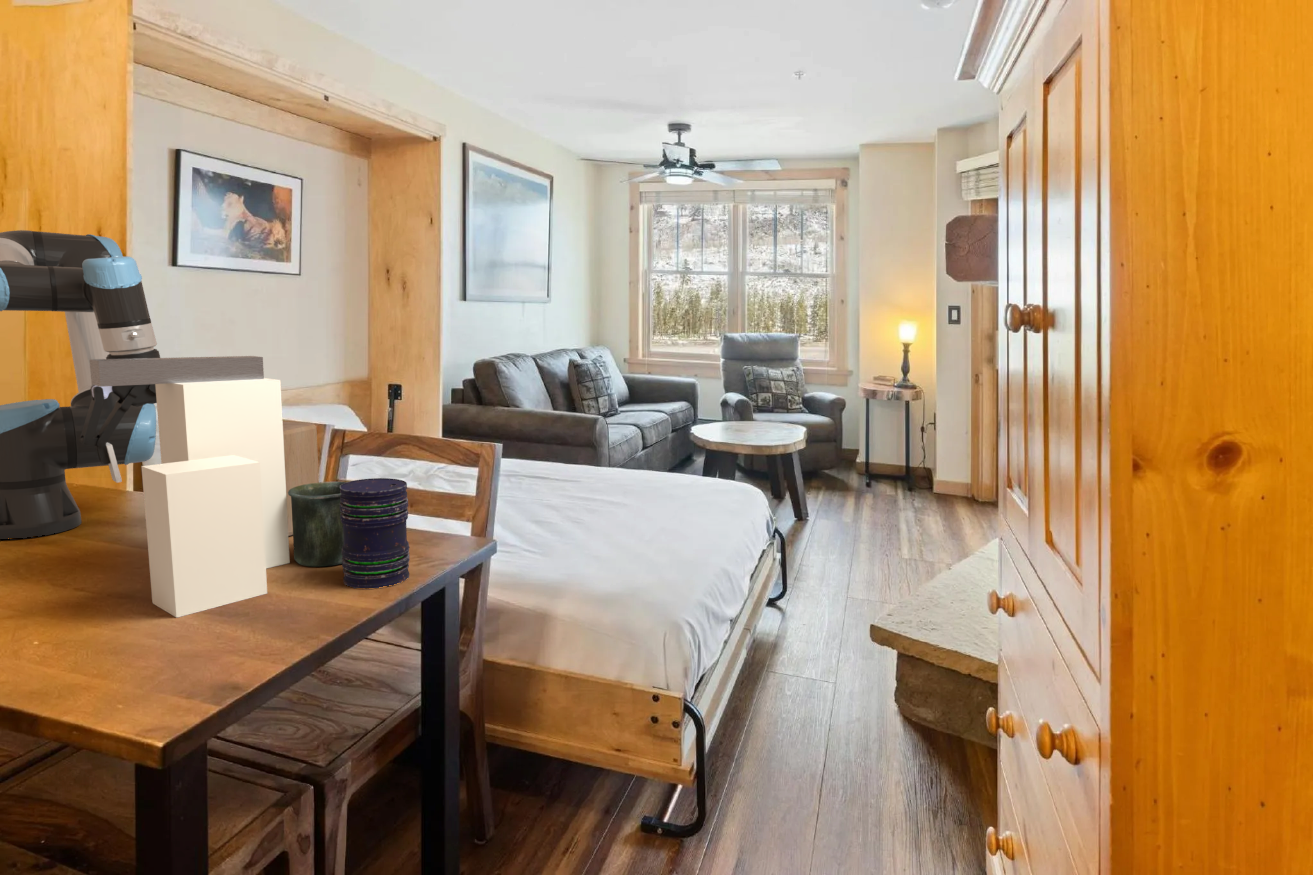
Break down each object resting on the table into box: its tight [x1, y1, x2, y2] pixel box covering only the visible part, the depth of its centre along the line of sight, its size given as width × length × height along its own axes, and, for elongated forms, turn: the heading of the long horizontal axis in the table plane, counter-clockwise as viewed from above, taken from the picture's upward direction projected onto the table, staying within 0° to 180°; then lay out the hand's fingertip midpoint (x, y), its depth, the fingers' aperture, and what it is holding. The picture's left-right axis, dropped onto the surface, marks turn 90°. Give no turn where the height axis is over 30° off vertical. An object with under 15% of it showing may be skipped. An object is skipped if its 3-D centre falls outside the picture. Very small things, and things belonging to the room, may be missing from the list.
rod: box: [89, 355, 265, 387], centre depth 113 cm, size 4×22×4 cm, turn 143°
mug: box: [288, 481, 347, 568], centre depth 128 cm, size 11×15×12 cm
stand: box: [155, 377, 291, 569], centre depth 119 cm, size 10×14×30 cm
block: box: [282, 420, 320, 537], centre depth 142 cm, size 10×10×20 cm
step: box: [141, 455, 268, 619], centre depth 107 cm, size 8×12×20 cm, turn 143°
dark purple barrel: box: [340, 477, 411, 589], centre depth 117 cm, size 10×10×15 cm
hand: (162, 469), depth 134 cm, fingers open, 13 cm apart
